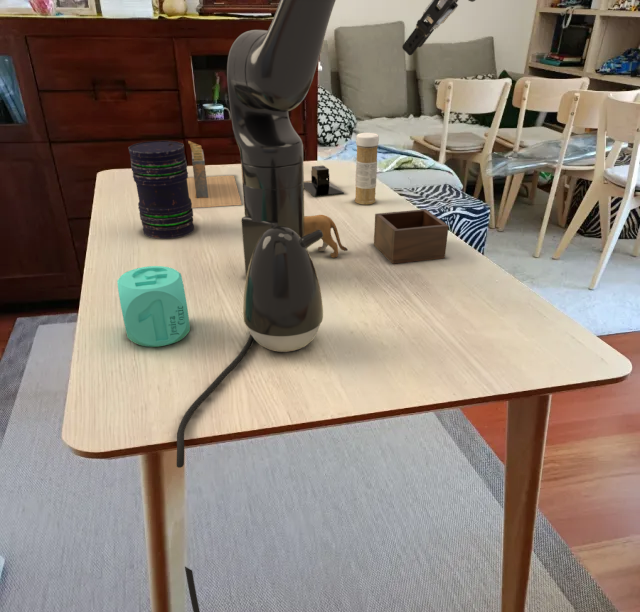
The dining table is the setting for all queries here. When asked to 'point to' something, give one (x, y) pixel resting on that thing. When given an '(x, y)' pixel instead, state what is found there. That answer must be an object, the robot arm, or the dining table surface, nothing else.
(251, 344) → the robot arm
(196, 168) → the ruin model on sheet
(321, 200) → the dining table surface
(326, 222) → the lion figurine
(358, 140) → the sprinkles bottle
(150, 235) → the dark barrel
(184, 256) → the dining table surface
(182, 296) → the decorative dice
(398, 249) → the box
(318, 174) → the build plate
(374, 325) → the dining table surface
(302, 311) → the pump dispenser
